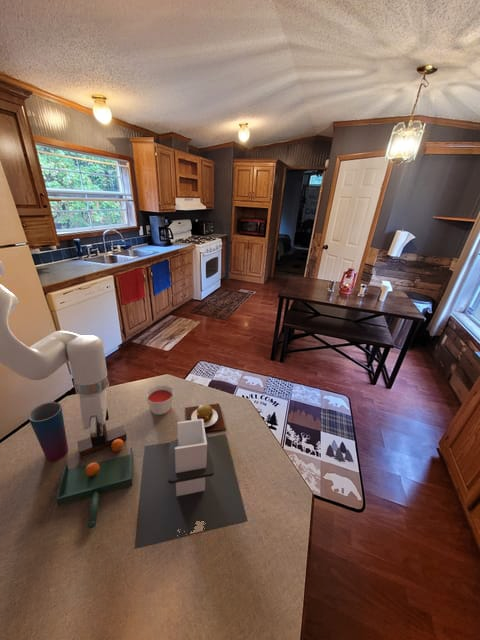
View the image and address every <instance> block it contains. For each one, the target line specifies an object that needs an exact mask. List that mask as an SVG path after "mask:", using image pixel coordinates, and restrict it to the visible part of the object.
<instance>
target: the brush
mask: <svg viewBox="0 0 480 640" xmlns="http://www.w3.org/2000/svg"><path fill="white" fill-rule="evenodd" d="M98 423H99V422H98V421H97V424H98ZM99 431H100V426H98V427H97V432H99ZM103 432H104V434H105V439H106V444H105V445H102V446H97V447H92V443H91V438H90V436H89V437H86V438H83V439H81V440H79V441H77V449H78V455H79V457H80V458H84V457H87V456H89V455H92V454H94V453H97V452H99V451H102V450H104V449H107V448H110V447H111V445H112V443H113V441H114V440H116V439H121V440H122V441H123V442H124V441H127V432H126V429H125V426H124V424H122V425H119V426H116V427H113V428H111V429H108V430H107V426H106V422H105V423H104V425H103Z"/></svg>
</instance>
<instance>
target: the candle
mask: <svg viewBox="0 0 480 640" xmlns="http://www.w3.org/2000/svg"><path fill="white" fill-rule="evenodd" d="M174 394H175V391H174V389H173V387H172V386H169V385H166V384H160V385H155V386H153V387H150V388H149V389H148V390H147V392H146V393H145V397H146V401H147V404H148V407H149V409H150V411H151V413H152V414H154V415H157V416H158V415H160V416H161V415H165V414H167V413H169V411H170V410H171V408H172V404H173V400H174Z"/></svg>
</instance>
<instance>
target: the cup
mask: <svg viewBox="0 0 480 640" xmlns="http://www.w3.org/2000/svg"><path fill="white" fill-rule="evenodd" d="M63 413H64V412H63V407H62V405H61V403H60V402H56V401H49V402H44V403H41V404H40V405H37V406H36V407H34V408H33V409H32V410H30V411H29V413H28V414H27V415H28V416H27V418H28V421H29V423H30V425H31V428H32V430H33V432H34V434H35V437H36V438H37V441H38V443H39V445H40V448H41V450H42V452H43V454H44V457H45V459H46V460H47V461H49V462H56V461H59V460H61V459H62V458H64V457H65V456H66V455H67V453H68V451H69V446H68V439H67V433H66V432H67V431H66V426H65V420H64V414H63Z"/></svg>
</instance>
